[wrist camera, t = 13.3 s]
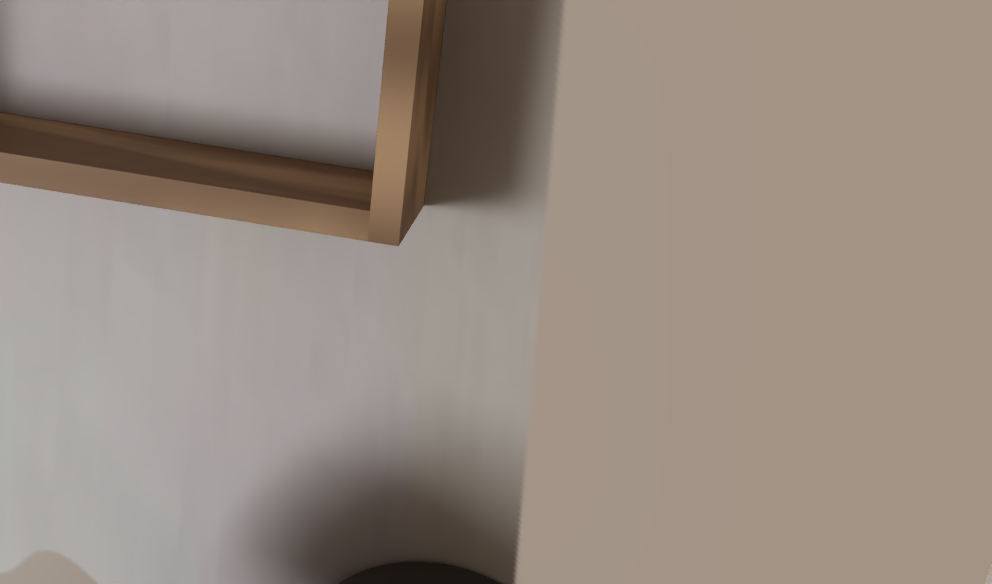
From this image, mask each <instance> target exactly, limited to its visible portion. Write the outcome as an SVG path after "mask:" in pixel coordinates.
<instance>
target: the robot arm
mask: <svg viewBox="0 0 992 584" xmlns="http://www.w3.org/2000/svg"><path fill="white" fill-rule="evenodd" d="M340 584H498V583H497V582H495V581H493V580H490V579H488V578H486V577H484V576H481V575H479V574H476V573H474V572H470V571H467V570H464V569H460V568H457V567H452V566H447V565H441V564H432V563H400V564H392V565H386V566H381V567H377V568H373V569H370V570H367V571H364V572H362V573H359V574H357V575H354V576H352V577H350V578H348V579H346V580H345V581H343V582H341V583H340ZM985 584H992V565H991V568H990V571H989V574H988V577H987V580H986V583H985Z"/></svg>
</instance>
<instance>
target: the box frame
mask: <svg viewBox="0 0 992 584" xmlns="http://www.w3.org/2000/svg"><path fill="white" fill-rule="evenodd" d="M446 3H447V0H389V4H388V16H387V27H386V38H385V50H384V61H383V72H382V83H381V95H380V106H379V117H378V128H377V140H376V151H375V162H374V172H373V171H367V170H361V169H354V168H348V167H342V166H335V165H329V164H323V163H316V162H310V161H304V160H297V159H291V158H285V157H278V156H272V155H266V154H259V153H253V152H247V151H240V150H234V149H228V148H222V147H215V146H209V145H203V144H196V143H190V142H184V141H177V140H171V139H165V138H158V137H152V136H146V135H139V134H133V133H127V132H120V131H114V130H108V129H101V128H95V127H89V126H82V125H76V124H70V123H63V122H57V121H51V120H44V119H38V118H32V117H25V116H19V115H13V114H6V113H0V182H1V183H7V184H14V185H20V186H26V187H32V188H39V189H45V190H51V191H57V192H63V193H70V194H76V195H82V196H88V197H95V198H101V199H107V200H113V201H120V202H126V203H132V204H138V205H145V206H151V207H157V208H163V209H170V210H176V211H182V212H188V213H195V214H201V215H207V216H213V217H220V218H226V219H232V220H238V221H245V222H251V223H257V224H263V225H269V226H276V227H282V228H288V229H294V230H301V231H307V232H313V233H319V234H326V235H332V236H338V237H344V238H351V239H357V240H363V241H369V242H376V243H382V244H388V245H394V246H399V244H400V243H401V241H402V240H403V238H404V236H405V235H406V233H407V232H408V230H409V228H410V227H411V225H412V224H413V222H414V220H415V219H416V217H417V216H418V214H419V212H420V211H421V209H422V208H423V206H424V198H425V189H426V180H427V171H428V163H429V154H430V145H431V136H432V127H433V118H434V109H435V101H436V92H437V83H438V74H439V65H440V56H441V47H442V38H443V30H444V21H445V12H446Z"/></svg>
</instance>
